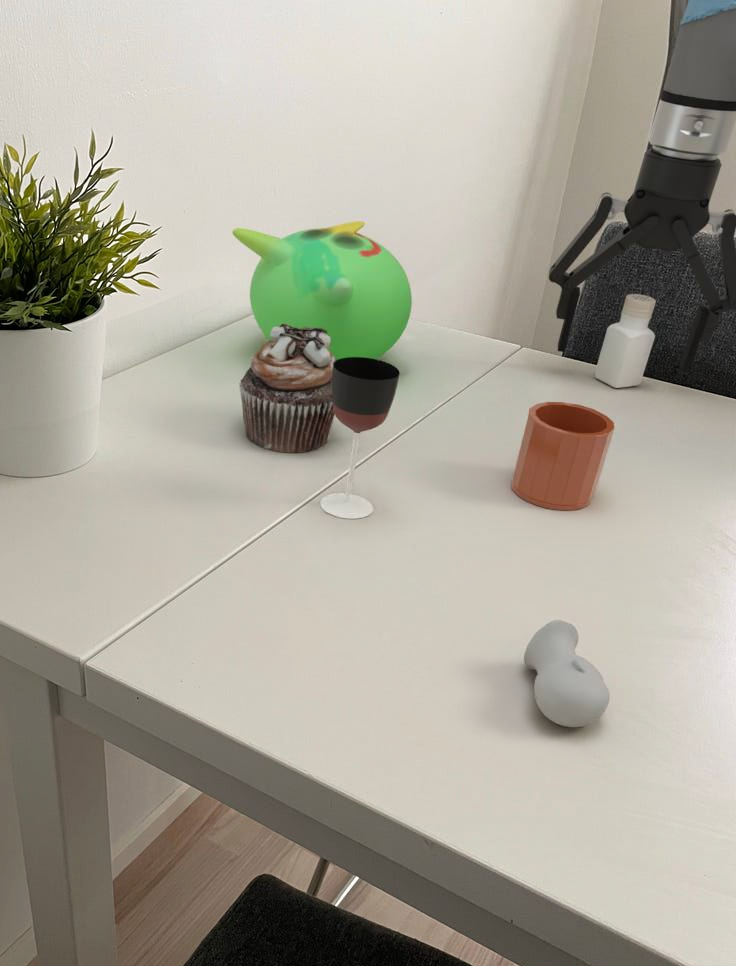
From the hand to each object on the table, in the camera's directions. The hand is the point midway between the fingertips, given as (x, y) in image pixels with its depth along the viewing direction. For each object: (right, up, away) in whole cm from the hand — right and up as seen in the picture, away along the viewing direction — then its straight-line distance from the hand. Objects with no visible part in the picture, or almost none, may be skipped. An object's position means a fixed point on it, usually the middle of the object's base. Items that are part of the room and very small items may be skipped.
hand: (621, 358), depth 113 cm
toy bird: (-34, -1, 0) cm, 34 cm away
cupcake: (-38, -12, -17) cm, 44 cm away
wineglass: (-34, -21, -28) cm, 48 cm away
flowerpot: (-15, -18, -23) cm, 33 cm away
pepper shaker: (0, -2, +2) cm, 3 cm away
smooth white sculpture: (-22, -36, -48) cm, 63 cm away
